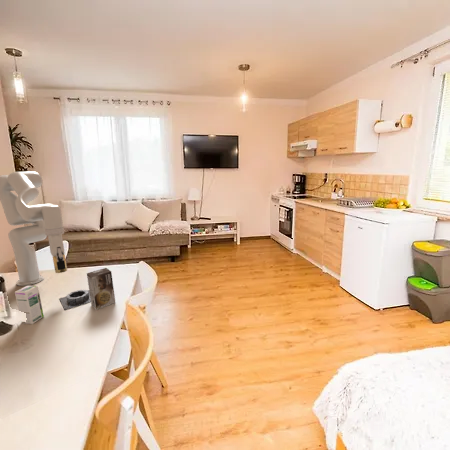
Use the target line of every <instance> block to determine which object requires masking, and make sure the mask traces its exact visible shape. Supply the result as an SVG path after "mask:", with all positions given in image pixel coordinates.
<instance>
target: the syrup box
mask: <svg viewBox="0 0 450 450" xmlns="http://www.w3.org/2000/svg"><path fill="white" fill-rule="evenodd" d="M14 295H15V299H16V300H15V301H16V304H17V308H18V312H19V311H21V312H24V313H26V318H27V320H26V322H25V323H24V324H28V325H29V324H30V325H34V323H36V322H38V321H39V320H41V319H42V318H44V317H45V315H44V311H43V306H42V301H41V296H40V291H39V287H38V286H36V285H26V286H23V287H22V288H20V289H18V290H16V291H14Z"/></svg>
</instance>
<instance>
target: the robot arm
mask: <svg viewBox="0 0 450 450" xmlns="http://www.w3.org/2000/svg"><path fill="white" fill-rule="evenodd" d="M43 181H44V180H43V177H42V175H40V173H38V172H37V171H31V170H30V171H28V170H27V171H26V170H25V171H14V172H11V173H9V174H2V175H0V204H1V206H2V209H3V212H4V216H5V219H6V221H7V223H8V224H9V225H10V226H15V227H16V226H19V227H16V228H12V229H11V230H9V232H8V240H9V242H10V244H11V246H12V250H13V255H14V259H15V264H16V271H17V275H18V279H17V280H16V283H15V284H16V285H17V286H19V287H22V286H23V287H26V286H32V285H36V284H37V283H40V282H42V281H43V280H44V276H43V275H40V270H39V264H38V259H37V254H36V253H37V252H36V249H35V248H34V247H32V246H31V245H30V244H32V243H36V242H40V241H44V240H45V239H48V245H49V246H48V247H49V251H50V252H49V253H50V255H51V256H52V258H53V257H55V256H56V259H57V268H58V270H62V269H65V268H66V267H65V261H64V258H63V255H64V254H65V247H64V240H63V235H64V234H65V229H64V224H63V216H62V211H61V207H60V205H58V204H53V203H39V204H33V205H27V204H28V203H30V202H32V201H34V200H35V199H36V198H38V197H39V193H40V191H39V189H38V188H40V187H42V185H43ZM14 192H15V193H16V194H15V193H14ZM29 224H32V225H29ZM22 225H26V226H22ZM47 237H48V238H47ZM57 254H58V255H57Z"/></svg>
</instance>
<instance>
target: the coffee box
mask: <svg viewBox="0 0 450 450" xmlns="http://www.w3.org/2000/svg"><path fill="white" fill-rule="evenodd" d="M86 277H87V282H88V283H87V285H88V290H89V292H90V298H91V302H90V304H91V306H92V307H93V308H94V309H95V310H96V311H97V310H99V309H102V308H104V307H107V306H110V305H112V304H114V303H115V304H116V297H115V296H116V294H115V290H114V289H115V288H114V283H113V275H112V271H111V270H110V269H109V268H107V267H104V268H101V269H97V270H94V271H90V272H87V273H86Z"/></svg>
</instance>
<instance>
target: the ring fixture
mask: <svg viewBox="0 0 450 450" xmlns="http://www.w3.org/2000/svg"><path fill="white" fill-rule="evenodd" d="M59 301H60V304H61V306H62V307H63V309H64V311H66V310H70V309H73V308H77V307H79V306H83V305H85V304H89V303H91V298H90V292H89V289H78V290H74V291H71V292H70V293H68V294H66V296H64V297H60V298H59Z"/></svg>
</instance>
